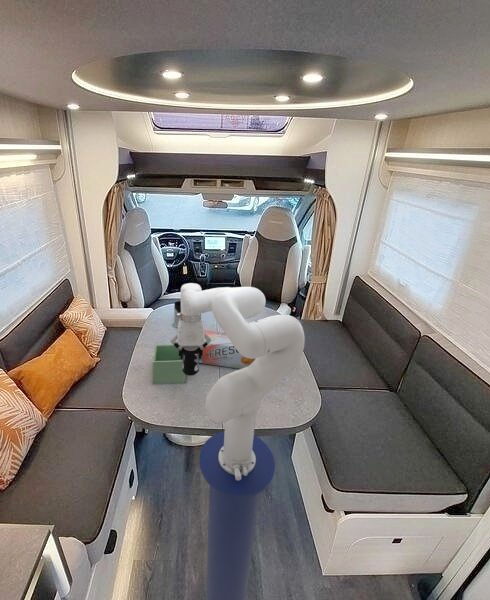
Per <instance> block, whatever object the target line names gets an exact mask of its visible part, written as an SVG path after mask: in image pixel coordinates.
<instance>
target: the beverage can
mask: <svg viewBox="0 0 490 600" xmlns="http://www.w3.org/2000/svg"><path fill="white" fill-rule="evenodd" d="M182 370H183V373H185V374H186V376H189V377H190V376H193V377H194V376H195V375H197V374H198V373H199V371H200V363H199V348H198V346H183V349H182Z"/></svg>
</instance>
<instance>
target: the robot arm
mask: <svg viewBox="0 0 490 600" xmlns="http://www.w3.org/2000/svg"><path fill="white" fill-rule="evenodd" d="M180 301H181V312H180V313H179V314H177V317H180V319H179V323H178V328H177V333H176V334H175V335H173V336H172V337H171V338H170V339H169V342H170V344H171V345H174V346H175V347H176V348H177V349H178V350H179V356H181V359H182V347H183V346H199V358H200V359H201V356H203V349H204V348H205V347H206V346H207V345H208V344H209V343H210V342H211V338H210V337H209V336H207V335H206V334H205V333H204V330H205V323H204V319H203V318H202V314H205V313H209V312H212V315H213V317H214V319H215V321H216V323H217V324H218V326H219V327H220V328H221V330H222V332H224V333H225V334H226V335H227V337H228V338H229V340H230V341H231V342H232V344H233V345H234V347H235V348H236V349H237V351H238V352H239V353H240V354H241V355H242V356H244V357H246V358H249V359H254V358H256V359H255V360H254V361H253V363H252V364H250V365H249V366H248V367H245V368H242V369H237V370H235V371H231V372H229V373H227V374H225V375H223V376H221V377H220V378H218V380H216V382H215V383H214V385H212V388H211V389H210V390H209V392H208V393H207V395H206V397H205V403H204V405H205V407H204V408H205V411H206V414H207V416H208V418H209V419H210V420H211V421H212V422H214V423H217V424H224V431H225V432H224V446H223V447H222V448H221V449H220V452H219V463H220V465H221V467H222V468H223V469H224V470H225V471H226V472H228V473H230V474H233V475H235V479H236V480H241V475H244V476H247V475H248V473H249V472H251V471H252V470H253V468H254V466H255V462H256V457H255V454H254V452H253V450H252V446H253V437H254V435H255V428H256V420H257V414H258V411H259V409H260V406H261V402H262V399H263V398H265V397H266V396H267V395H268V394H269V393H270V392H271V391H273V389H274V388H275V387H277V385H278V384H279V383H280V382H281V381H282V380H284V379H285V377H286V376H288V375H289V374H290V373H291V372H292V371H293V370H294V368H295V367H296V366H297V365H298V363H299V361H300V360H301V358H302V356H303V353H304V349H305V343H306V339H305V332H304V328H303V325H302V323H301V322H300V321H299V320H298V319H297V318H296V317H295V316H292V315H289V314H275V315H271V316H268V317H263V318H260V319H256V320H253V321H249V322H248V321H247V320H248V319H252V318H255V317H257V316H258V315H261V313H262V312H263V311H264V309H265V308H266V304H267V303H266V302H267V299H266V296H265V294H264V292H262V290H261V289H259V288H257V287H254V286H235V287H230V286H224V287H213V288H209V289H204V290H202V286H201V285H200V284H198V283H195V282H188V283H183V284H182V285H181V287H180ZM204 338H205V339H206V341H205V342H204Z"/></svg>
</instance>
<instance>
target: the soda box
mask: <svg viewBox="0 0 490 600" xmlns="http://www.w3.org/2000/svg"><path fill="white" fill-rule="evenodd" d="M204 333H205V334H206V335H207V336H209V337H210V338H211V342H210V343H209V344H208V345H207V346H206V347H205V348H204V349H203V356H201V359H200V358H199V364H203V365H209V366H218V367H225V368H232V369H238V370H240V369H242V368H245V367H248V366H249V365H250V364H252V363H253V361H254V360H255V359H256V358H254V359H249V358H246V357H244V356H242V355H241V354H240V353H239V352H238V351H237V349H236V348H235V347H234V345H233V344H232V342H231V341H230V340H229V338H228V337H227V335H226V334H225V332H224V331H214V330H207V329H206V330H205V329H204ZM205 341H206V339H205V338H204V342H205ZM198 348H199V346H198Z"/></svg>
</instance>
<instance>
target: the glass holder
mask: <svg viewBox="0 0 490 600" xmlns="http://www.w3.org/2000/svg"><path fill="white" fill-rule="evenodd" d="M173 307H174V308H173V310H174V311H173V312H174V314H173V315H174V322H173V323H174V324H173V327H174V328H177V329H178V323H179V319H180V317H177V314H179V313H180V312H181V300H177V301H174V306H173Z"/></svg>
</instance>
